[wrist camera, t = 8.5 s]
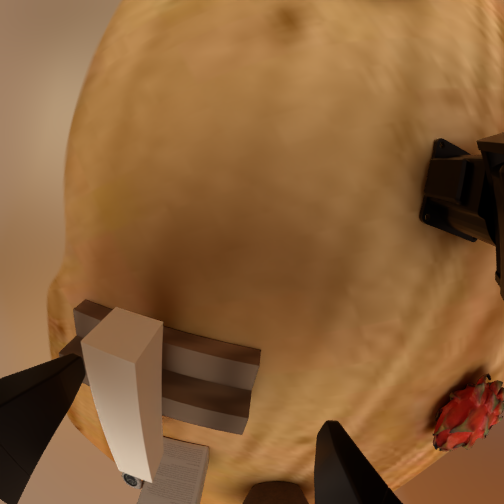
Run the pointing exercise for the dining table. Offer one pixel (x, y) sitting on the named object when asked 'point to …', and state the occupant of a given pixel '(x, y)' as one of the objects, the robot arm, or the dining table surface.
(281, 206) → the dining table surface
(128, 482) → the wristwatch
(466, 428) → the dragon fruit
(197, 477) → the skincare box
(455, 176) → the robot arm
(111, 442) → the light gray bar
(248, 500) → the plant pot
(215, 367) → the ridge block
